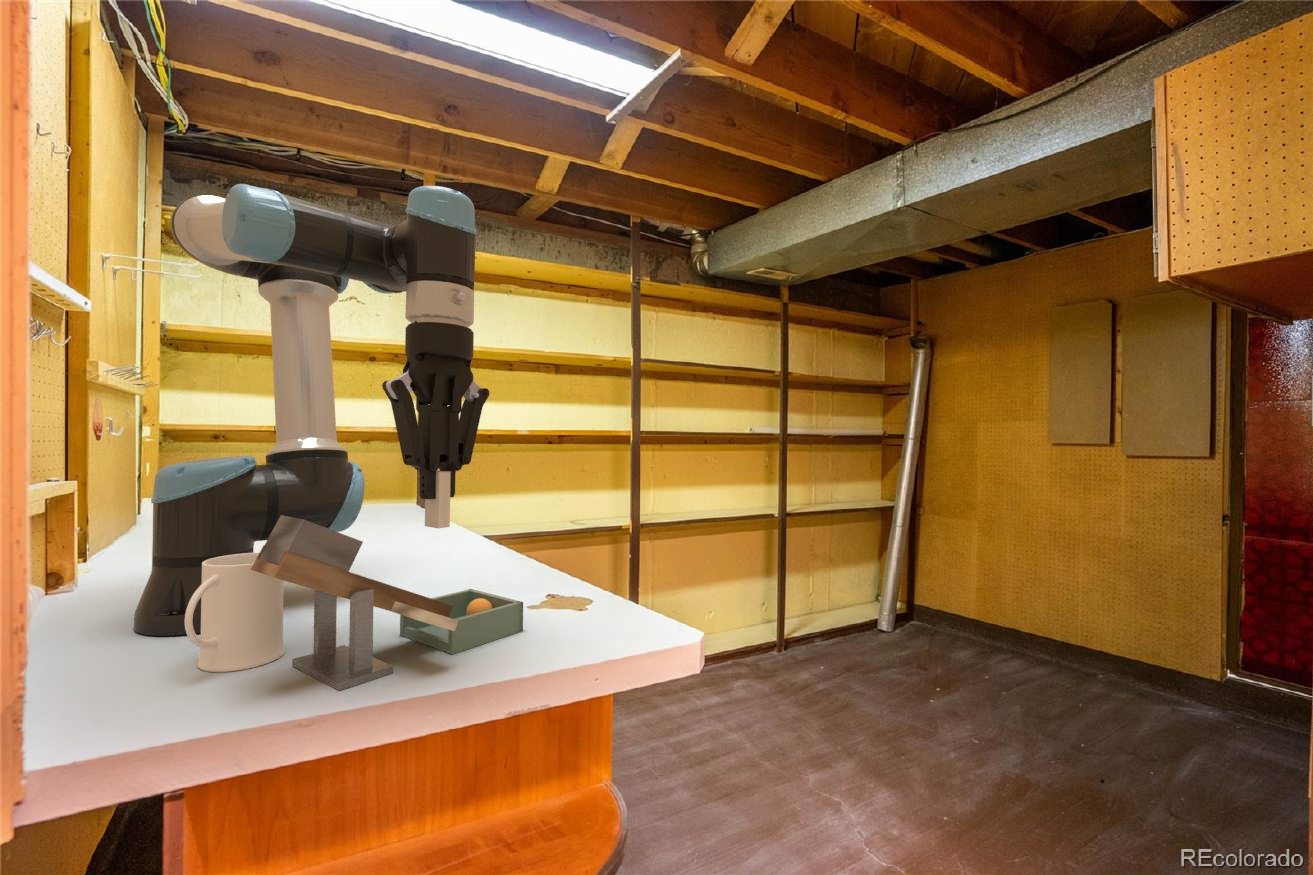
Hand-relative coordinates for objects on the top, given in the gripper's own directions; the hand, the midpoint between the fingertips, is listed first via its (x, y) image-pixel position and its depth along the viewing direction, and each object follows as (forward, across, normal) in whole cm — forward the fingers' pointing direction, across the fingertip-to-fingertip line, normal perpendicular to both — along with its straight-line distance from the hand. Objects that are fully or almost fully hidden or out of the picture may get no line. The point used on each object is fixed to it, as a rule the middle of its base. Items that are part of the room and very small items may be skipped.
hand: (437, 526), depth 69 cm
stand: (+16, -7, +7) cm, 19 cm away
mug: (+17, -14, +20) cm, 29 cm away
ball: (+14, +12, +8) cm, 20 cm away
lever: (+9, -5, +4) cm, 11 cm away
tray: (+16, +9, +8) cm, 20 cm away
